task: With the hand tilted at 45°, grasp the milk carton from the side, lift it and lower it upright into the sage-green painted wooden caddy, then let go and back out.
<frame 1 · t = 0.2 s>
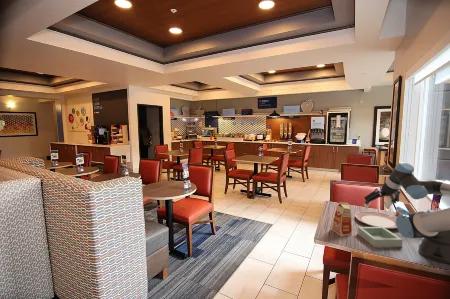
hand: (375, 207, 145), 15 cm above the table, tool tilted 35°, fingers open, 13 cm apart
yogurt: (402, 217, 166), on the table
carton caddy: (378, 240, 134), on the table
dinner plate: (377, 223, 158), on the table
milk carton: (341, 232, 145), on the table
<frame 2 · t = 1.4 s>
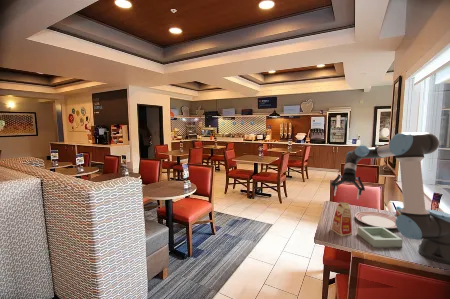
hand: (345, 196, 151), 20 cm above the table, tool tilted 45°, fingers open, 13 cm apart
nothing on the table moved.
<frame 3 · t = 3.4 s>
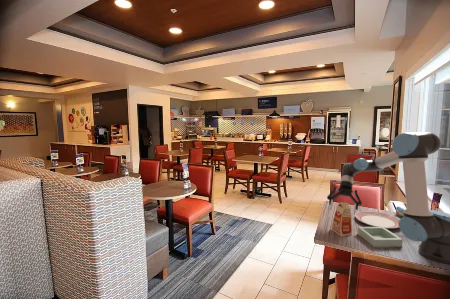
hand: (342, 211, 145), 13 cm above the table, tool tilted 45°, fingers open, 13 cm apart
nothing on the table moved.
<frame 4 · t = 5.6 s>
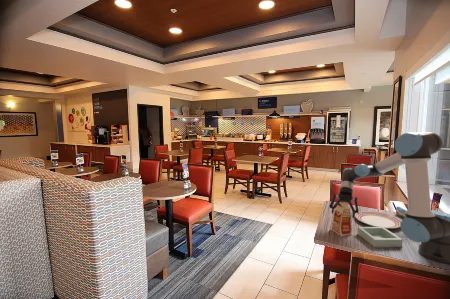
hand: (342, 220, 141), 9 cm above the table, tool tilted 45°, fingers closed on milk carton, 9 cm apart
milk carton: (341, 232, 145), on the table, touching gripper
everything else where it was.
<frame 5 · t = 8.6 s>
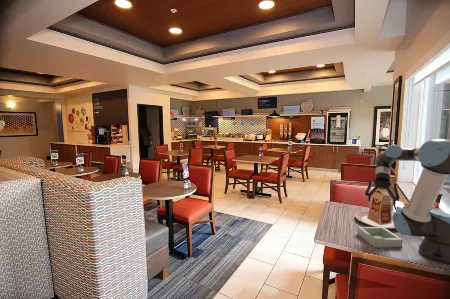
hand: (381, 208, 129), 21 cm above the table, tool tilted 45°, fingers closed on milk carton, 9 cm apart
milk carton: (379, 221, 133), point 12 cm above the table, touching gripper
everything else where it was.
when the fingers open (11 cm above the table, at t = 11.7 s): milk carton drops 2 cm, resting on carton caddy.
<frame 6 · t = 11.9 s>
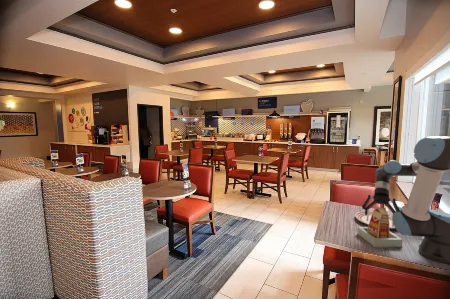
hand: (379, 222, 130), 12 cm above the table, tool tilted 45°, fingers open, 11 cm apart
milk carton: (377, 239, 134), resting on carton caddy
everything else where it was.
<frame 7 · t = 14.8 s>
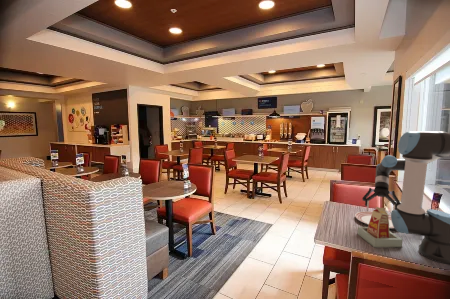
hand: (380, 212, 141), 13 cm above the table, tool tilted 45°, fingers open, 13 cm apart
nothing on the table moved.
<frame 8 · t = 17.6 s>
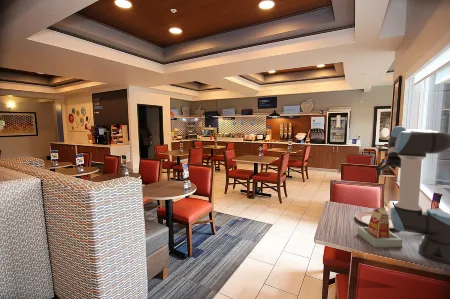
hand: (393, 180, 147), 32 cm above the table, tool tilted 45°, fingers open, 13 cm apart
nothing on the table moved.
at the end: milk carton 0.4 cm off-centre on the carton caddy, point 0.4 cm above the carton caddy's base; milk carton tilted 0°; the gripper is holding nothing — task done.
